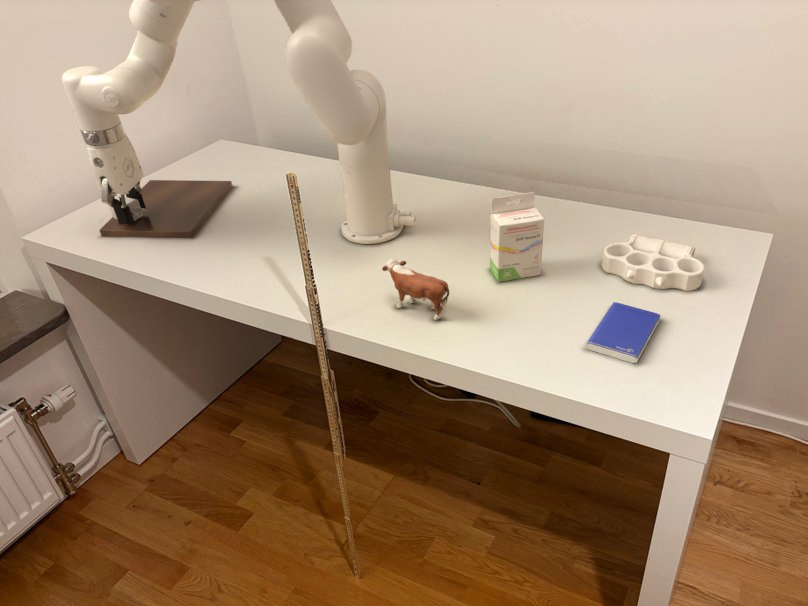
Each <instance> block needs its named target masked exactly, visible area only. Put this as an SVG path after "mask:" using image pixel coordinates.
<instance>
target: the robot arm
mask: <svg viewBox="0 0 808 606" xmlns="http://www.w3.org/2000/svg"><path fill="white" fill-rule="evenodd" d="M200 1H201V0H132V2H131V5H130V8H129V10H128V18H129V21H130V23H131V25H132V26H133V27H134V28H135V29H136V30H137V32H136V36H135V39H134V42H133V44H132V47H131V49H130V50H129V53H128V56H127V57H126V59H125V60H124V61H123V62H121V63H120V64H118V65H117V66H115V67H114V68H112V69H109V70H108V71H105V72H104V71H103V70H102V69H101V68H99V67H98V66H92V65H84V66H82V65H81V66H77V67H73V68H70V69H67V70H66V71H65V72H63V74H62V75H61V82H62V86H63V88H64V92H65V93H66V96H67V99H68V102H69V104H70V107H71V110H72V113H73V114H74V118H75V120H76V123H77V126H78V128H79V131H80V134H81V137H82V139H83V141H84V144H85V146H86V147H87V148H86V149H87V154H88V155H87V156H88V158H89V162H90V166H91V170H92V173H93V176H94V179H95V182H96V185H97V188H98V189H99V191H100V193H101V196H100V197H101V203H103V204H106V205H108V206H109V205H110V206H111V208H114V211H115V214H116V216H117V219H118V222H119V223H120V224H133V223H134V219H133V216H132V213H131V211H130V208H129V206H126V201H125V197H127V198H132V199H137V200H138V201H139V204H140V207H141V208H143V209H146V206H145V203H144V201H143V198H142V195H141V194H140V193H141V189H142V187H141V180H142V179H143V177H144V171H143V169H142V166H141V163H140V160H139V157H138V155H137V153H136V150H135V148H134V146H133V144H132V142H131V140H130V138H129V137H128V135H127V133H126V132H125V130H124V127H123V124H122V121H121V118H120V115H128V114H131V113H133V112H135V111H136V110H138V109H139V108H140V107H141V106H142V105H143V104H144V103H146V102H147V101H148V100H150V99H151V98H152V97H153V96H155V95H156V94H157V93H158V91H159V90H160V89H161V87H162V85H163V83H164V81H165V80H166V77H167V75H168V73H169V71H170V70H171V67H172V64H173V62H174V59H175V56H176V52H177V47H178V39H179V37H180V34H181V32H182V30H183V28H184V25H185V23H186V21H187V19H188V17H189V15H190V13H191V10H192V9H193V6H194V4H195V2H200ZM273 1H274V3H275V5H276V8H277V9H278V11H279V12H280V14H281V16H282V18H283V19H284V21H285V23H286V24H287V27H288V28H289V31H290V32H291V35H290V37H289V38H288V41H287V43H286V46H285V54H284V55H285V63H286V67H287V70H288V74H289V76H290V77H291V80H292V81H293V83H294V84H295V86H296V89H298V91H299V93H300V94H301V95H300V96H302V97H303V100H304V101H305V103H306V104H307V107H308V108H309V110H310V112H311V113H312V116H313V117H314V118H315V120H316V121H317V123H318V125H319V127H320V128H321V129H322V131H323V132H324V133H325V134H326V135H327V136H328V137H329V138H330V139H331V140H333V142H336V144H337V152H338V153H337V155H338V161H339V168H340V176H341V182H342V188H343V197H344V202H345V203H344V204H345V211H346V217H347V218H346V219H345V220H344V221H343V222H342V223H341V227H340V228H341V234H342V236H343V237H344V238H345V239H346V240H348V241H350V242H351V243H356V244H361V245H374V244H375V245H376V244H381V243H384V242H388V241H390V240H392V239H395V238H396V237H397V236H398V235H399V234H401V233H402V231H403V227H404V226H410V227H411V226H413V227H414V226H416V215H412V211H408V210H406V211H405V210H404V211H401V210H399V209H398V203H394V200H393V189H392V177H391V169H390V158H389V156H390V155H389V145H388V134H387V133H388V131H387V127H388V126H387V100H386V94H385V91H384V87H383V86H382V83H381V82H380V80H378V78H377V77H376V76H375V75H374V74H372V73H371V72H368V71H367V70H363V69H352V70H350V69H349V67H348V65H347V64H348V62H349V60H350V58H351V55H352V52H353V41H352V38H351V34H350V32H349V31H348V29H347V27H346V25H345V23H344V22H343V20H342V18H341V16H340V15H339V13H338V11H337V9H336V7H335V5H334V3H333V1H332V0H273ZM116 197H119V200H120V201H119V200H117V199H116ZM144 211H145V210H144Z"/></svg>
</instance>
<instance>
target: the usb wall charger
mask: <svg viewBox="0 0 808 606" xmlns="http://www.w3.org/2000/svg"><path fill="white" fill-rule="evenodd" d="M115 199H117V200H119V196H117V197H115ZM119 201H120V200H119ZM125 201H126V206H129V208H130V211H131V213H132V216H133V219H134V221H135V220H136V219H138V218H140V217H141V216H142V212H147V211H146V209H143V208H141V207H140V204H139V201H138V200H137V199H132V198H127V197H126V196H125ZM108 208H109V211H110V213H111V215H112V217H113V218H114V219H117V216H116V214H115V211H114V208H111V206H110V205H108ZM144 210H145V211H144ZM117 220H118V219H117Z"/></svg>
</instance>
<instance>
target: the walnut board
mask: <svg viewBox="0 0 808 606" xmlns="http://www.w3.org/2000/svg"><path fill="white" fill-rule="evenodd" d="M232 182H233V181H232V180H188V179H187V180H186V179H185V180H182V179H181V180H177V179H176V180H175V179H173V180H172V179H171V180H170V179H149V180H148V182H146V184H145V185H143V186H142V187H141V193H140V194H141V195H142V198H143V201H144V203H145V206H146V211H147V212H142V216H141V217H140V218H138V219H136V220H135V221H134V223H133V224H120V223H119V222H118V220H117V219H114V218H113V216H112V217H111V218H110V219H109V220H108V221H107V222H105V224H104V225H103V226H102V227H101V228H100V229H99V230H98V231H99V233H100V236H101V237H122V238H163V239H164V238H169V239H193V238H194V237H195V235H196V234H197V233H198V232H199V231H200V229H201V228H202V227H203V225H204V224H205V223H206V222H207V220H209V218H210V217H211V215H212V214H213V213H214V211H215V210H216V209H217V208H218V206H219V205H220V204H221V203H222V201H223V200H224V199H225V198H226V196H227V195H228V193H230V191H231V190H232V188H233V187H234V186H233V183H232Z"/></svg>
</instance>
